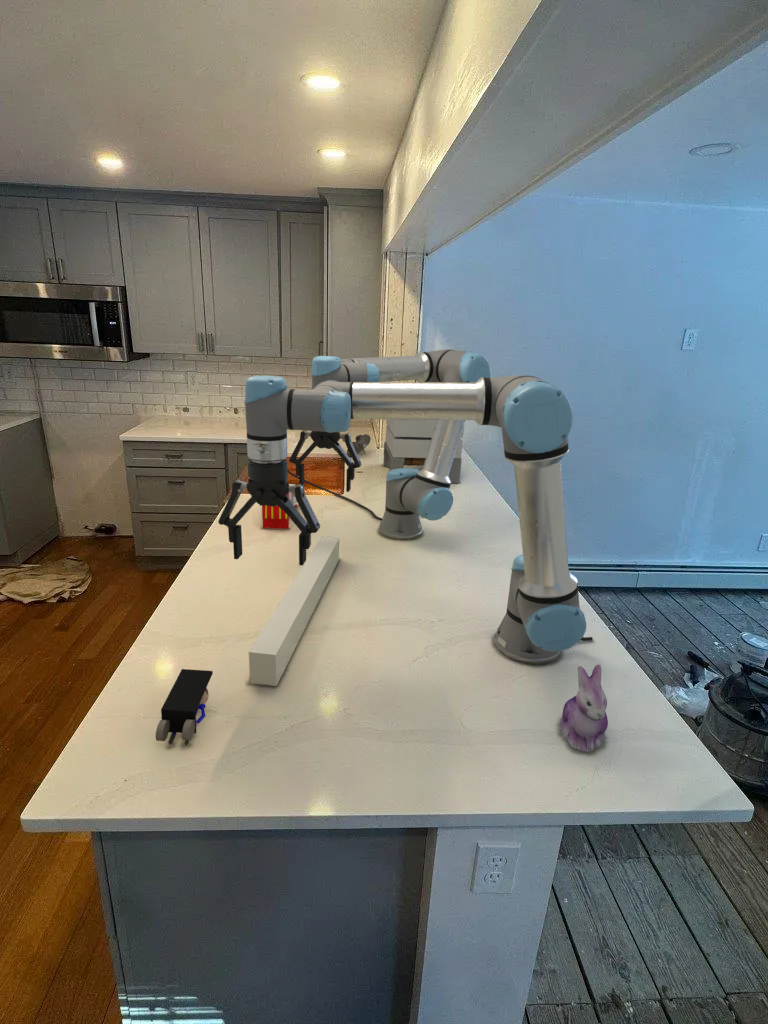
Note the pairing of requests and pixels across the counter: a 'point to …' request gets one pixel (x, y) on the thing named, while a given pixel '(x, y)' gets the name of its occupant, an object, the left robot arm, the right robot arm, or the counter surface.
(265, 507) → the toy
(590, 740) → the figurine
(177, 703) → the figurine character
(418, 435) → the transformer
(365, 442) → the fossil
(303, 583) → the bar
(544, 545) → the right robot arm
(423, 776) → the counter surface
